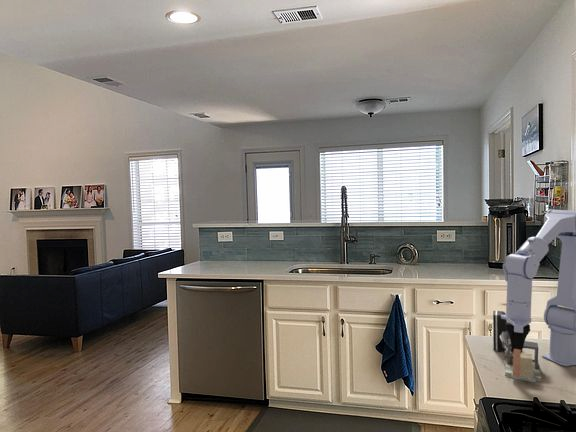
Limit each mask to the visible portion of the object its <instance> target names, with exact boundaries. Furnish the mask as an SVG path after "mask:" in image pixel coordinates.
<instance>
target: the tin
mask: <svg viewBox="0 0 576 432" xmlns="http://www.w3.org/2000/svg"><path fill="white" fill-rule="evenodd" d="M507 322H508V321H507ZM509 323H510V322H509ZM500 339H501V341H502V342H503V343H504V344H505V346H506V347H507V348H508V339H510V336H509V333H508V331H506V332H502V334H501V335H500ZM511 351H512V348H511V346H510V352H511Z"/></svg>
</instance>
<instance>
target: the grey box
mask: <svg viewBox="0 0 576 432" xmlns="http://www.w3.org/2000/svg"><path fill="white" fill-rule="evenodd" d="M510 346H511V341H510V339H508V347H507V364H510V356H511V350H510ZM523 349H528V350H534V356H533V357H534V359H533V360H534V364H535V368H536V369H538V363H539V344H538V342H534V341H527V340H525V342H524V346H523Z"/></svg>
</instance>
